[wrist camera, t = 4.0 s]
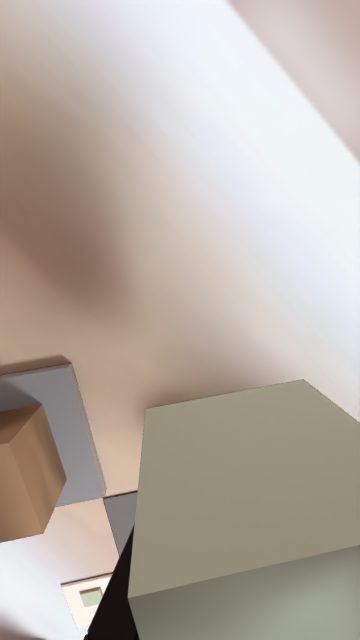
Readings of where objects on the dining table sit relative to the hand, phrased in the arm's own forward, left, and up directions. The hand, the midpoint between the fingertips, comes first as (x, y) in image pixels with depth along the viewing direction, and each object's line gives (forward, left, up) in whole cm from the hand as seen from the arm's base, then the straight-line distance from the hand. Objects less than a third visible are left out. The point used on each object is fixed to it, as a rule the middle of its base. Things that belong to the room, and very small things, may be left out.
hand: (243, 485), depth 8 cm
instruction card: (+12, +23, -11) cm, 28 cm away
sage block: (0, 0, -1) cm, 1 cm away
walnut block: (+15, +4, -10) cm, 19 cm away
